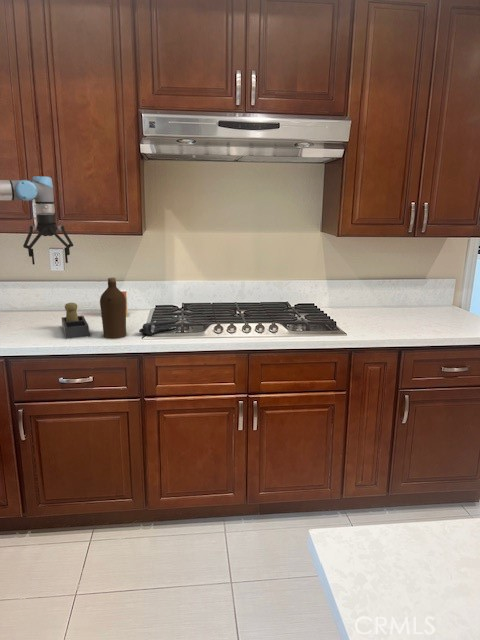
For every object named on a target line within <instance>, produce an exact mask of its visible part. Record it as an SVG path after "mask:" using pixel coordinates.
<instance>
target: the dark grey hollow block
mask: <svg viewBox="0 0 480 640" xmlns="http://www.w3.org/2000/svg"><path fill="white" fill-rule="evenodd" d="M77 316H78V320H79V321H71V322H66V316H64V317H61V328H62V332H63V334H64V338H65V339H66V340H68V339H75V338H85V337H90V328H89V324H88V322H87V320H86V318H85V316H84V315H77Z"/></svg>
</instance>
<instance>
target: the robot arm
mask: <svg viewBox="0 0 480 640" xmlns="http://www.w3.org/2000/svg"><path fill="white" fill-rule="evenodd" d="M52 179H53V178H52V177H50V176H44V175H43V176H41V175H40V176H38V175H37V176H35V175H34V176H32V180H28V179H21V180H20V179H19V180H18V179H14V180H13V179H0V201H2V202H3V201H24V202H29V201H30V202H31V201H34V203H35V213H36V225H29V231H28V233H27V236H26V237H25V240H24V243H23V245H22V246H23V248H24V249H27V252H28V256H29V258H30V257H31V263H32V265H35V254H34V248H33V247H34V245H35V244H36V243H37V242H38V240H39V239H40V238H41V237H53V236H54V237H55V238H56V239H57V240H58V241H60V242H61V244H62V245H64V248H63V249H64V260H65V264H69V261H68V260H69V259H68V256H70V255H71V252H70V251H71V250H70V248H71V247H74V243H73V241H72V240H71V238H70V237H69V235H68V233H67V232H66V230H65V226H64V225H63V224H61V225H57V219H56V215H55V213H56V208H55V199H54V184H53V180H52ZM36 230H37V231H38V233H37V235H36V236H35V237H34V238H33V240H32V241H31V242H30V239H31V237H32V235H33V232H35V231H36ZM58 230H59V231H61V232H62V234H63V236H64V237H65V239H66V241H67V242H66V241H65V240H64V239H63V238H62V237H61V236H60V234H58V233H57V231H58ZM29 242H30V243H29ZM28 244H29V245H28Z"/></svg>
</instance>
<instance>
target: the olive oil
mask: <svg viewBox="0 0 480 640" xmlns="http://www.w3.org/2000/svg"><path fill="white" fill-rule="evenodd" d="M116 280H117V279H116V277H108V278H107V288H106V289H105V290H104V292H103V293H101V295H100V297H99V306H100V315H101V324H102V332H103V334H102V335H103V337H104V338H105V339H110V340H117V339H122V338H124V337H126V336H127V317H126V298H125V296H124V294H123V293H122V292H121V291H120V290H119V289H120V288H118V286H117V281H116Z"/></svg>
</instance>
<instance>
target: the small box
mask: <svg viewBox="0 0 480 640" xmlns="http://www.w3.org/2000/svg"><path fill="white" fill-rule="evenodd" d="M118 289H119V290H120V291H121V292H122V293H123V294H124V296H125V298H126V318H127V317H128V293H127V291H128V289H127V288H118Z"/></svg>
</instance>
